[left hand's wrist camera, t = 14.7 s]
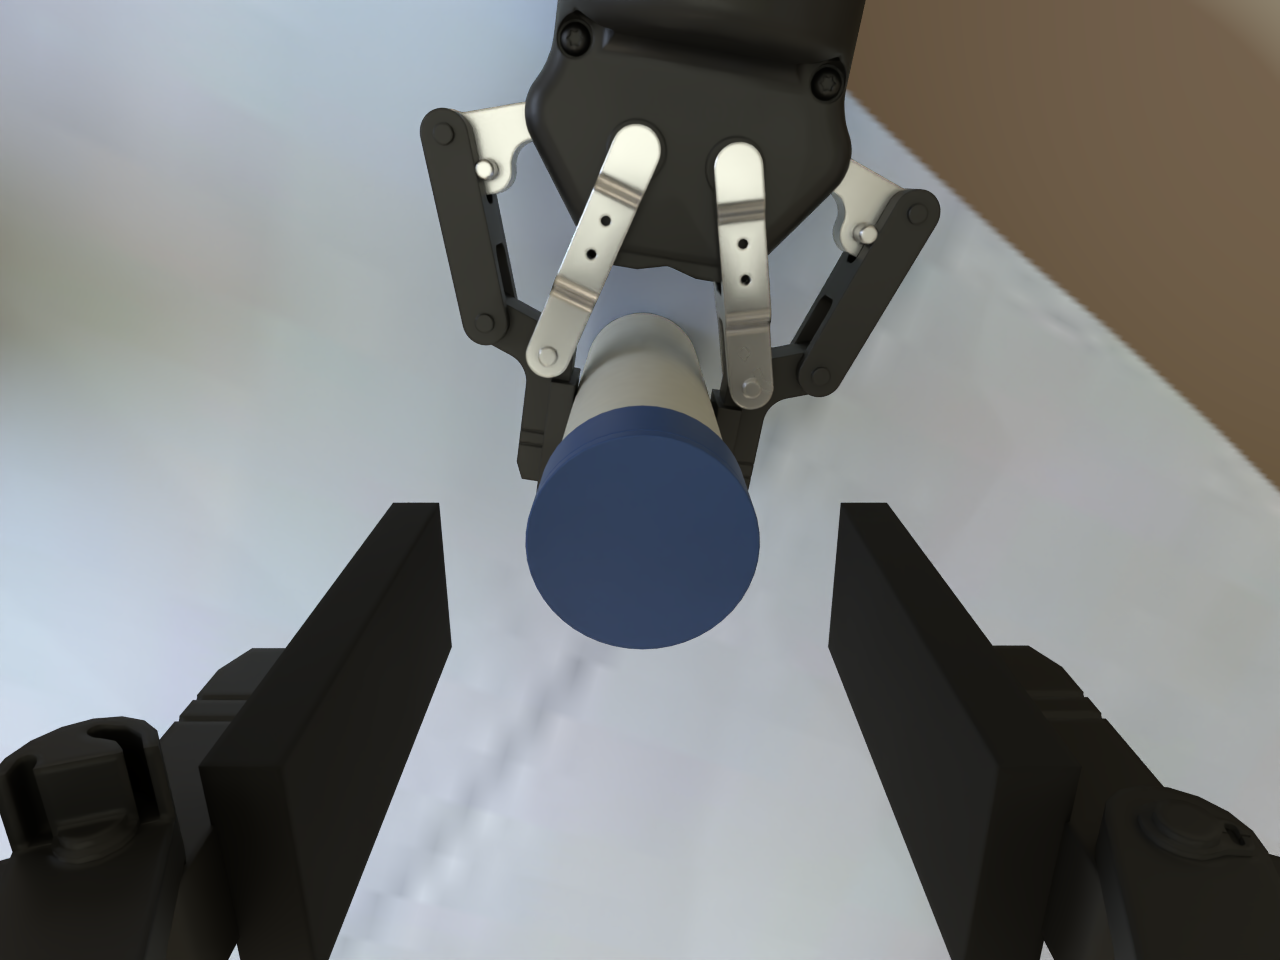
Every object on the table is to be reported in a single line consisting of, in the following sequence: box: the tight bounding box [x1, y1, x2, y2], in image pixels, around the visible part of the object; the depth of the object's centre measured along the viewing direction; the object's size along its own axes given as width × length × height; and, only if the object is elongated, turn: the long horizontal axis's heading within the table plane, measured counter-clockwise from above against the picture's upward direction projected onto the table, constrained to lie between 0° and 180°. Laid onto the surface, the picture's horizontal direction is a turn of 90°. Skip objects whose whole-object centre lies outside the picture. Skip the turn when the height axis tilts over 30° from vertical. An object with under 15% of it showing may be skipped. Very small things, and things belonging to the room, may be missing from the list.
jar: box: [562, 313, 722, 440], centre depth 24 cm, size 4×4×15 cm
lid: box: [526, 405, 760, 649], centre depth 17 cm, size 4×4×2 cm
